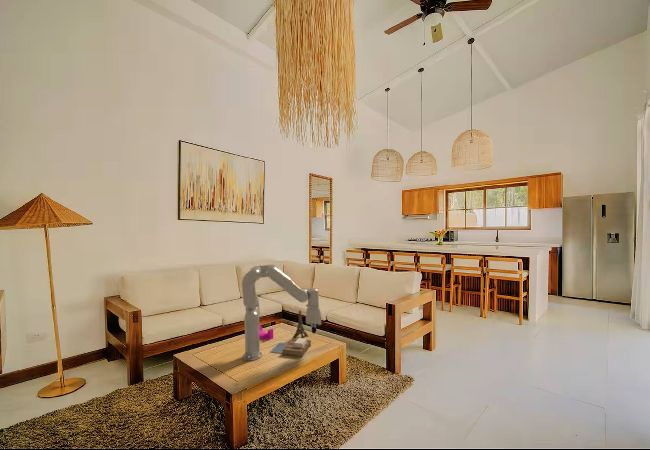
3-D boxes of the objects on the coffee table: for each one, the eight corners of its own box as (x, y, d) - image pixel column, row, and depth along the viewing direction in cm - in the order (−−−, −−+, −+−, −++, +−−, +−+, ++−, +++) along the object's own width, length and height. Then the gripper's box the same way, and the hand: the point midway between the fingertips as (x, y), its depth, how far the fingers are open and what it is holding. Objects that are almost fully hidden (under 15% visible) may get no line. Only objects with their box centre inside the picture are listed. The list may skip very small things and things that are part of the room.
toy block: (253, 337, 240) (253, 327, 240) (259, 334, 246) (259, 325, 245) (267, 341, 232) (267, 331, 232) (273, 338, 237) (273, 329, 237)
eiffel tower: (296, 334, 246) (296, 303, 245) (308, 335, 243) (308, 304, 242) (291, 339, 235) (291, 307, 235) (304, 340, 232) (303, 308, 232)
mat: (283, 353, 209) (283, 353, 209) (269, 352, 212) (269, 351, 212) (291, 344, 225) (291, 344, 225) (279, 343, 227) (279, 342, 227)
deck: (302, 357, 204) (301, 351, 204) (282, 355, 207) (282, 349, 207) (311, 345, 223) (310, 340, 223) (293, 343, 227) (293, 338, 227)
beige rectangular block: (302, 347, 209) (302, 343, 209) (294, 347, 211) (294, 342, 211) (306, 342, 218) (306, 338, 218) (298, 342, 220) (298, 337, 220)
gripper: (301, 307, 210) (302, 334, 210) (322, 308, 206) (323, 335, 206) (304, 304, 217) (305, 330, 218) (325, 305, 213) (325, 331, 214)
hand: (314, 332), depth 212 cm, fingers closed
